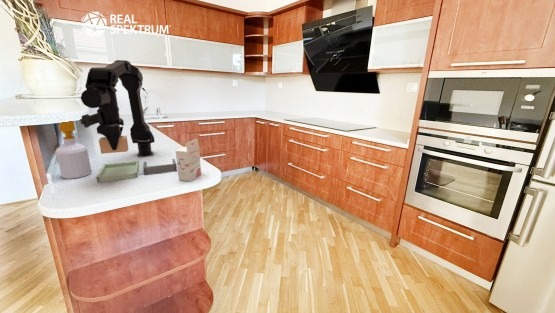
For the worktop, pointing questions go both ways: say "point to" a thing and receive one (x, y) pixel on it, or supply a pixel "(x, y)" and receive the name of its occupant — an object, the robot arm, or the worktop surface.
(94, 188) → the worktop surface
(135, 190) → the worktop surface
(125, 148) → the raised panel orange block
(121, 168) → the tray
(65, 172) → the soap bottle
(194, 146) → the ink cartridge box
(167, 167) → the printer bay
